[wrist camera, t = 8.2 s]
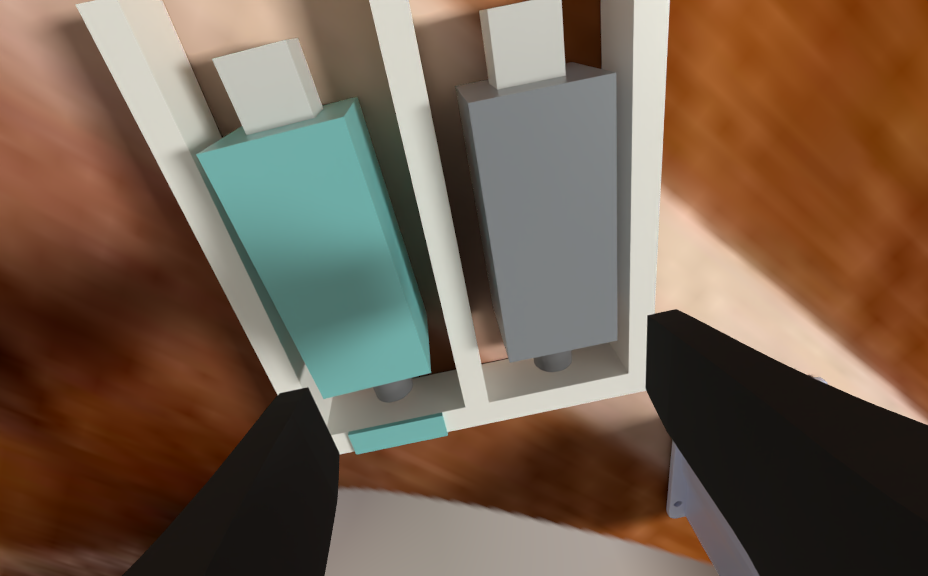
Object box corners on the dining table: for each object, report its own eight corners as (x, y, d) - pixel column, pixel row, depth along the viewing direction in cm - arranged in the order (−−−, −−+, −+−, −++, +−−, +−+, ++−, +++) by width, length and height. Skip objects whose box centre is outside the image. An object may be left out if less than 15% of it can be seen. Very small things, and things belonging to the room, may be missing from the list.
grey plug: (583, 322, 21) (617, 381, 18) (498, 340, 21) (516, 402, 18) (566, -8, 15) (616, -17, 11) (443, 18, 15) (454, 16, 11)
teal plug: (438, 348, 21) (444, 411, 18) (353, 368, 21) (342, 436, 18) (336, 29, 14) (314, 30, 11) (214, 60, 14) (153, 72, 11)
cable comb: (629, 353, 22) (655, 392, 20) (318, 417, 22) (308, 464, 20) (635, -95, 13) (683, -120, 11) (125, 8, 13) (66, 4, 11)
